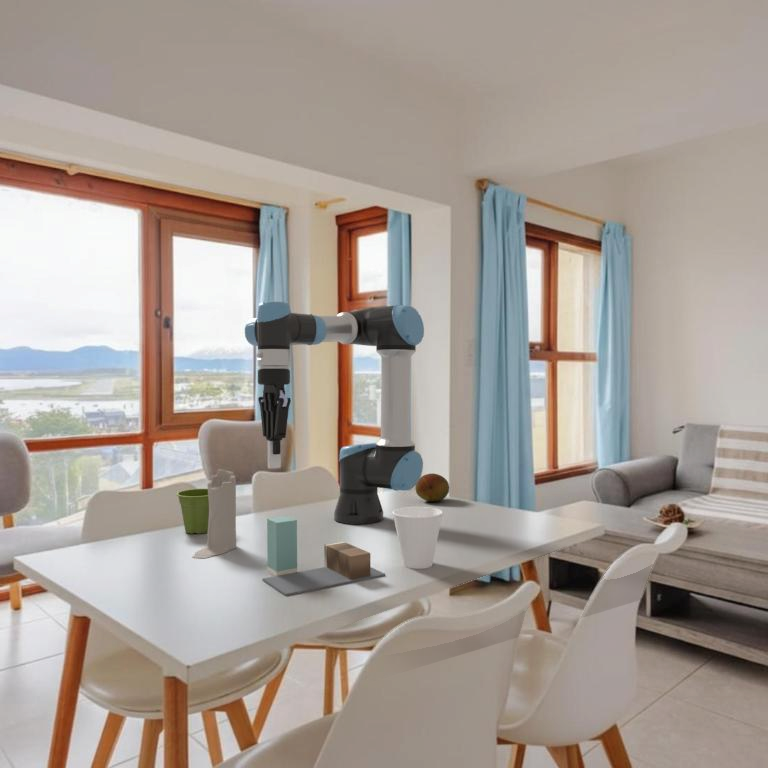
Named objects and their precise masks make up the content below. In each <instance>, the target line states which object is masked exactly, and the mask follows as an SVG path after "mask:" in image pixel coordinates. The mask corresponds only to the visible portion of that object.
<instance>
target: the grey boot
mask: <svg viewBox="0 0 768 768" xmlns="http://www.w3.org/2000/svg"><path fill="white" fill-rule="evenodd" d="M236 481H237V477H236V475H235V473H234V471H231V470H230V471H229V470H226V469H222V468H221V469H220V468H218V469H216V475H215V474H214V475H211V476H210V479H209V480H208V481H207V489H208V498H209V523H208V532H207V541H206V545H205V547H204V548H201V549H199V550H197V551H196V552H195V553H194V555H193V556H192V558H195V559H208V558H210V557H214V556H215V557H216V556H219V555H223V554H226V553H228V552H230V551H232V550H234V549H236V548H237V527H236V526H237V524H236V523H237V522H236V521H237V519H236V518H237V517H236V516H237V515H236V513H237V497H236V496H237V492H236V491H237V486H236V485H237V483H236Z"/></svg>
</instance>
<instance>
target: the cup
mask: <svg viewBox="0 0 768 768" xmlns="http://www.w3.org/2000/svg"><path fill="white" fill-rule="evenodd" d="M443 515H444V512H443V511H442V509H440V508H435V507H428V506H407V507H400V508H396V509H393V510H392V516H393V520H394V526H395V530H396V534H397V535H396V536H397V539H398V540H397V541H398V544H399V545H398V546H399V550H400V555H401V560H402V565H403V566H404V567H406V568H409V569H415V570H417V569H418V570H422V569H428V568H431V567H432V566H433V563H434V559H435V554H436V548H437V542H438V538H439V533H440V528H441V523H442V519H443Z"/></svg>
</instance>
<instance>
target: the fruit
mask: <svg viewBox="0 0 768 768" xmlns="http://www.w3.org/2000/svg"><path fill="white" fill-rule="evenodd" d="M414 489H415V493H416V495H417V496H418V497H419V498H421V499H422V500H424V501H426V502H431V503H432V502H433V503H435V502H439V501H442V500H443V499H445V498H447V496H448V494H449V492H450V484H449V482H448V480H447V479H446V478H445V477H444V476H443V475H440V474H438V473H426V474H424V475H421V477H420V479H419V481H418V482H417V484H416V485H415V486H414Z"/></svg>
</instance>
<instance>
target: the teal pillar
mask: <svg viewBox="0 0 768 768" xmlns="http://www.w3.org/2000/svg"><path fill="white" fill-rule="evenodd" d="M266 521H267V524H266V527H267V530H266V531H267V534H266V535H267V536H266V537H267V538H266V539H267V540H266V543H267V546H266V547H267V572H268V573H269V574H271V575H272V576H273V577H274V576H279V575H284V574H290V573H295V572H298V520H297V519H295V518H293V517H291V516H288V515H286V516H277V517H271V518H266Z"/></svg>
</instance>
